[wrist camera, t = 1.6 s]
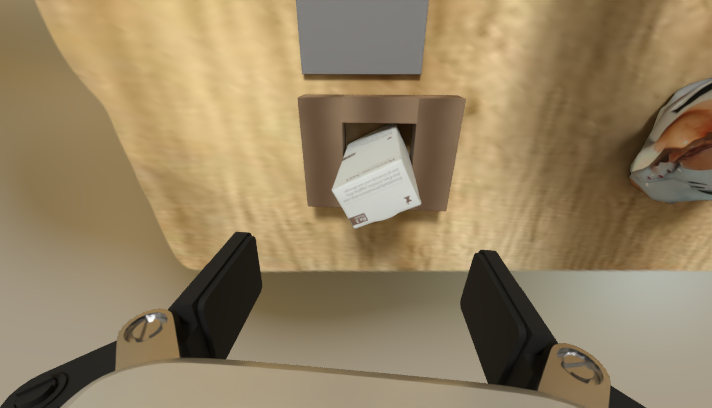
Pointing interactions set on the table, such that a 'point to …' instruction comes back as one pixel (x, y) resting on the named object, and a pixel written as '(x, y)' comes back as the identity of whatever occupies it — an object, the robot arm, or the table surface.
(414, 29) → the grey rubber mat
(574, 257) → the table surface
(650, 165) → the lucky cat figurine
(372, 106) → the walnut socket block
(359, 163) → the skincare box
